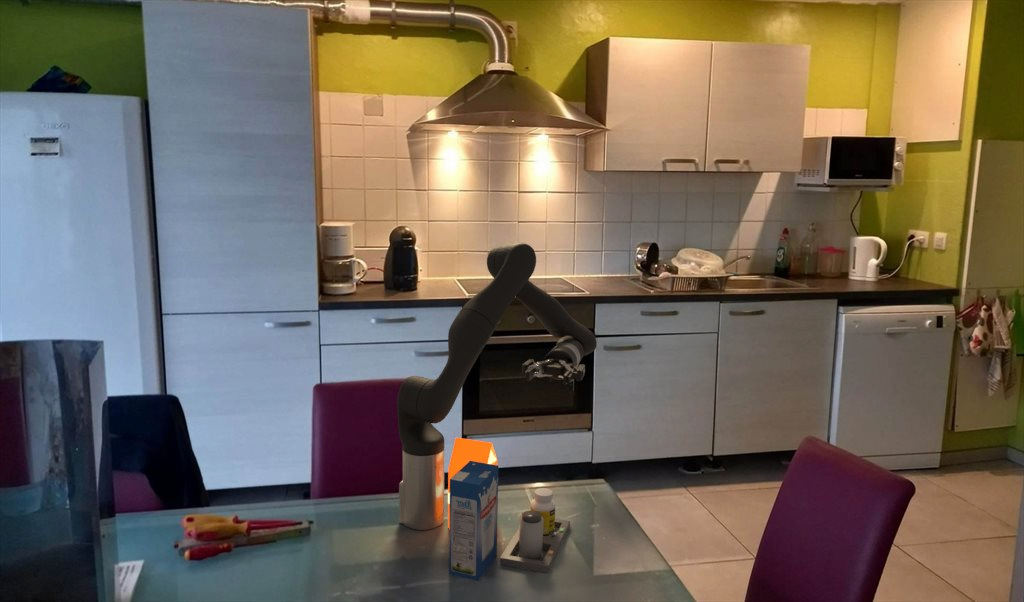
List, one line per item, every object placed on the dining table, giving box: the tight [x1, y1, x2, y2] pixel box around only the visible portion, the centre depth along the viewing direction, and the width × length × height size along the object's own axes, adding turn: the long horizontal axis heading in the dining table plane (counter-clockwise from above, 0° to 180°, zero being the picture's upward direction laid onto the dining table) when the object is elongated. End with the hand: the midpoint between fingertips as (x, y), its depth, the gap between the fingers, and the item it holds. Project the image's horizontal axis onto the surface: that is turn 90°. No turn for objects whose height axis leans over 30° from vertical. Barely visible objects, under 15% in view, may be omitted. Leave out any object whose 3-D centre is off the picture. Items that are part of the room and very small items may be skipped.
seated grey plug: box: [518, 510, 543, 561], centre depth 154 cm, size 5×5×9 cm
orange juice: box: [447, 437, 498, 529], centre depth 166 cm, size 8×9×20 cm
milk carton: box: [448, 461, 499, 582], centre depth 149 cm, size 10×6×20 cm, turn 160°
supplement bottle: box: [530, 487, 556, 537], centre depth 163 cm, size 5×5×10 cm
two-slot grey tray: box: [499, 517, 571, 574], centre depth 159 cm, size 10×20×2 cm, turn 163°
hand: (546, 378), depth 169 cm, fingers open, 8 cm apart
